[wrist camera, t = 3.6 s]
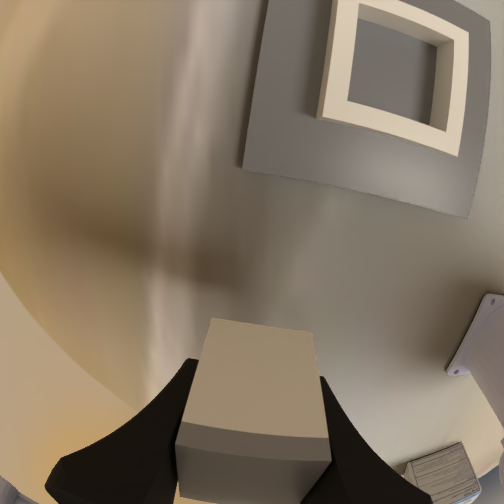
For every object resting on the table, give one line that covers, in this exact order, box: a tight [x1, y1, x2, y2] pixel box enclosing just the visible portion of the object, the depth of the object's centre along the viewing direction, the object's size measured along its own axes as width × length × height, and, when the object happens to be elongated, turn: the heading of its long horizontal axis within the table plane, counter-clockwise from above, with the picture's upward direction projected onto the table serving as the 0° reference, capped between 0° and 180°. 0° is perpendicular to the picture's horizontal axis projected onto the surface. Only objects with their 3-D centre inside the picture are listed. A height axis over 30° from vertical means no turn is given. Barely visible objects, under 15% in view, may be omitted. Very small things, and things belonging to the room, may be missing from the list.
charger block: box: [175, 318, 332, 504], centre depth 10 cm, size 4×4×6 cm
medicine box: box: [404, 442, 482, 504], centre depth 23 cm, size 8×4×9 cm, turn 104°
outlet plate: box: [242, 0, 491, 219], centre depth 13 cm, size 14×14×3 cm
